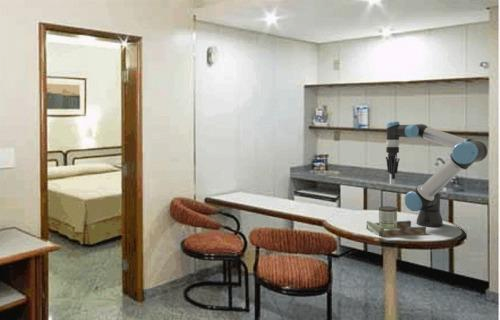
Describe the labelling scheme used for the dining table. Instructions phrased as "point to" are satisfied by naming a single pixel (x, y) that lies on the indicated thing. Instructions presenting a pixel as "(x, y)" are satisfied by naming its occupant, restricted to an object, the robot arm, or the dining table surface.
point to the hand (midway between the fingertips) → (392, 184)
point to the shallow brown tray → (395, 229)
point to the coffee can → (388, 217)
